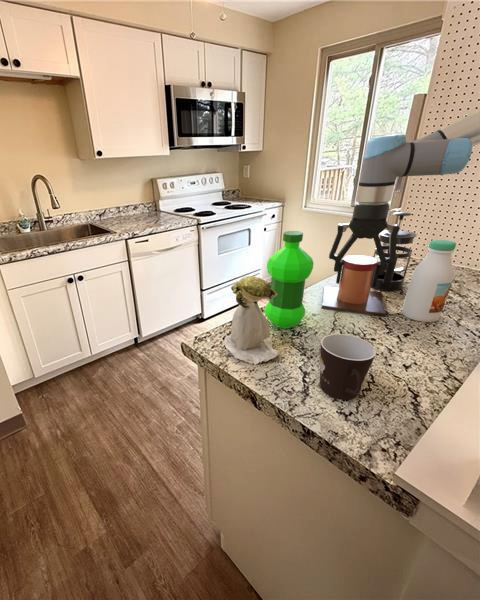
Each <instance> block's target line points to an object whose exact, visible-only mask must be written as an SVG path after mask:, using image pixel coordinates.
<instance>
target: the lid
mask: <svg viewBox="0 0 480 600" xmlns="http://www.w3.org/2000/svg"><path fill="white" fill-rule="evenodd" d="M342 260H343V266H344V267H347V268H350V269H355V270H372V269H375V268H376V267H377V264H378V262H379V261H378V259H377V258H376V257H374V258H373V257H372V256H368V255H360V254H353V255H345V256H344V257H343V258H342ZM343 266H342V267H343Z"/></svg>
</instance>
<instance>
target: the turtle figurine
mask: <svg viewBox="0 0 480 600" xmlns="http://www.w3.org/2000/svg"><path fill="white" fill-rule="evenodd" d="M230 289H231V291H232V294H234V295H235V302H236V303H237V304H238V306H237V308H236V309H235V310H234V313H233V315H232V318H231V327H230V328H231V331H230V333H231V334H230V335H226V336H225V337H224V339H223V343H224V347H225V348H226V349H227V350H228V351H229V353H230V354H231V355H232V356H233V357H234V358H235V359H238V360H240V361H244V362H245V363H249V364H250V365H252V364H253V365H254V366H256V365H257V364H259V363H262V362H263V363H266V362H268V361H270V360H273V359H275V358H277V357H278V356H280V351H279V350H276V349H274V348H273V339H272V338H273V335H272V336H271V331H272V327H271V324H270V323H271V322H270V323H269V320H268V318H267V317H266V315H264V313H263V311H262V309H261V308H260V306H261V304H258V302H259V301H262V300H264V299H267V300H270V299H272V298H273V297H274V296H276V295H277V294H276V292H275V291H274V290H273V289H272V288H271V283H269V282H268V281H267V280H265V279H263V278H261V277H258V276H254V275H251V276H250V275H249V276H243V277H242V278H241V279H240V280H237V281H236V282H235V283H233V284H232V286H231V288H230Z"/></svg>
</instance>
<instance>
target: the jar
mask: <svg viewBox="0 0 480 600" xmlns="http://www.w3.org/2000/svg"><path fill="white" fill-rule="evenodd" d="M374 271H375V269H372V270H355V269H350V268H347V267H344V266H342V271H341V277H340V282H339V284H338V288H339V289H338V294H337V298H338V299H339V300H341V301H343V302H346V303H351V304H363V303H366V302H367V301H368V296H369V292H370V291H371V289H372V288H371V284H372V280H373V275H374Z"/></svg>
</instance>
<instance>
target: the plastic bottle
mask: <svg viewBox="0 0 480 600" xmlns="http://www.w3.org/2000/svg"><path fill="white" fill-rule="evenodd" d="M303 239H304V232H303V231H300V230H287V231H284V232H283V235H282V241H283V242H284V246H283V247H281V248H280V249H278V250H277V251H276V252H274V254H272V255H271V256H269V259H268V260H267V262H266V270H267V271H266V272H267V274H269V276H270V277H271V280H270V288H272V289H273V290H274V291H275V292H276V294H277V295H276V296H274V297H273V298H272V299H269V300H268V303H267V304H266V306H265V307H264V313H265V317H266V318H267V320H268V321H270V323H272V324H273V325H274V326H275V327H278V328H280V329H290V328H293V327H295V326H297V325H299V324H300V323H301V321H302V320H303V319H304V316H305V314H306V308H305V306H304V304H303V300H304V293H305V286H306V280H307V279H309V277H310V276H311V274H312V272H313V269H314V260H313V258H312V256H311V255H309V254H308V252H306V251H305V250H304V249H302V247H300V243H302V242H303Z"/></svg>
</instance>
